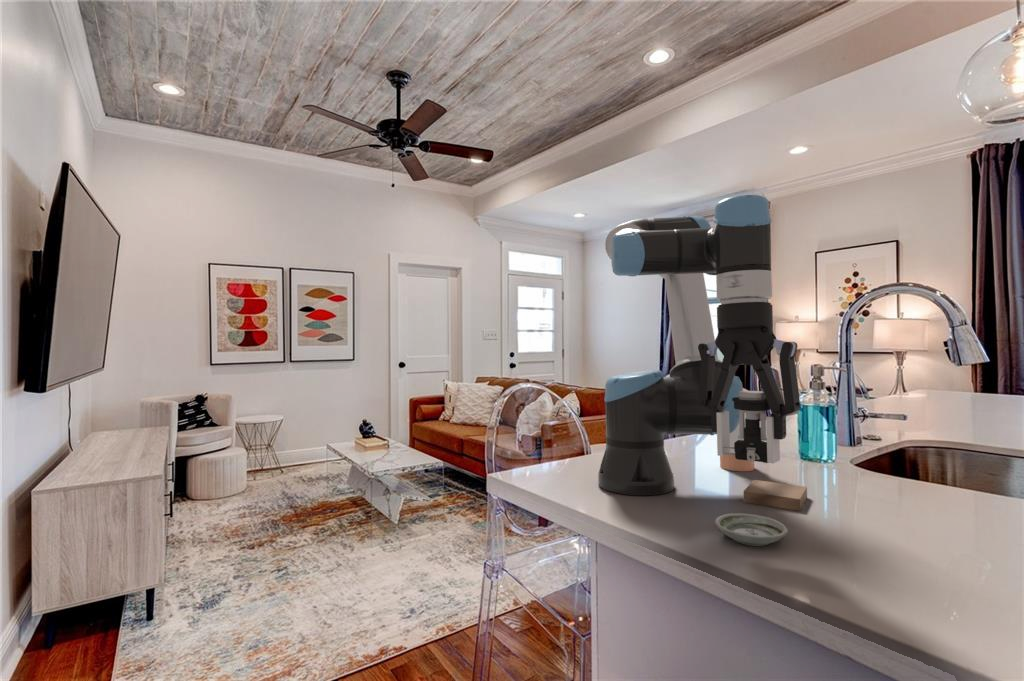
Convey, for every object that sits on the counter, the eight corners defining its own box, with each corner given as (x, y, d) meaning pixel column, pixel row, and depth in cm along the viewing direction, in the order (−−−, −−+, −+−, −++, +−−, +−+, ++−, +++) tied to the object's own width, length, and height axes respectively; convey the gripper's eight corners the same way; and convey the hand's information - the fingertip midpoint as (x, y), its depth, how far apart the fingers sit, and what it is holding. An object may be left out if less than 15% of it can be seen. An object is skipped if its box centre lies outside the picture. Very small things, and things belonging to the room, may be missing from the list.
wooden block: (743, 502, 92) (743, 491, 92) (754, 489, 99) (754, 479, 99) (800, 510, 87) (799, 499, 87) (807, 497, 94) (806, 486, 94)
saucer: (703, 530, 79) (702, 515, 79) (758, 526, 81) (758, 511, 81) (740, 555, 70) (740, 538, 70) (803, 550, 71) (803, 533, 71)
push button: (720, 460, 75) (718, 392, 75) (728, 453, 79) (726, 389, 79) (770, 465, 71) (768, 394, 71) (776, 458, 75) (774, 390, 75)
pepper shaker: (744, 463, 121) (742, 383, 121) (760, 470, 114) (758, 385, 114) (714, 464, 121) (712, 383, 121) (729, 472, 113) (727, 386, 113)
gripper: (671, 306, 80) (674, 452, 80) (808, 295, 66) (813, 473, 65) (694, 307, 85) (697, 445, 85) (825, 298, 71) (830, 463, 71)
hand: (747, 457), depth 75 cm, fingers closed on push button, 6 cm apart
